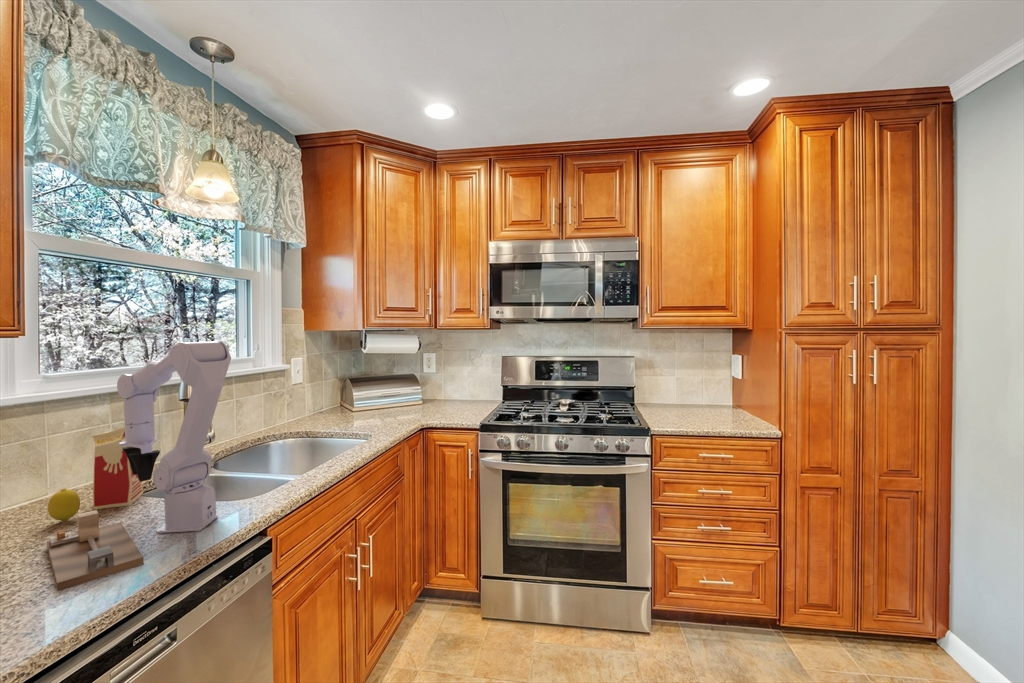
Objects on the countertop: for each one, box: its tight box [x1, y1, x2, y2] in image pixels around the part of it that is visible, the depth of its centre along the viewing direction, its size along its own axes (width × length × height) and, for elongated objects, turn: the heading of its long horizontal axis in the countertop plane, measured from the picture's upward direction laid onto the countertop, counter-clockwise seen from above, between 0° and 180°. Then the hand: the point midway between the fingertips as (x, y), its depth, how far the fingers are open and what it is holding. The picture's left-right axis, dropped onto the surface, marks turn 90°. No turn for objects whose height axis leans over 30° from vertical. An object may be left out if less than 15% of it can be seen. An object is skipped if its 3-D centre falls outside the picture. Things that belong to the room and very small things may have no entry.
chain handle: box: [49, 509, 100, 550], centre depth 93 cm, size 18×7×5 cm, turn 48°
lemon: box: [47, 488, 81, 523], centre depth 110 cm, size 6×6×8 cm
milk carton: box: [90, 426, 144, 511], centre depth 122 cm, size 9×9×20 cm
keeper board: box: [46, 522, 145, 592], centre depth 93 cm, size 24×12×4 cm, turn 48°
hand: (141, 477), depth 113 cm, fingers open, 7 cm apart
